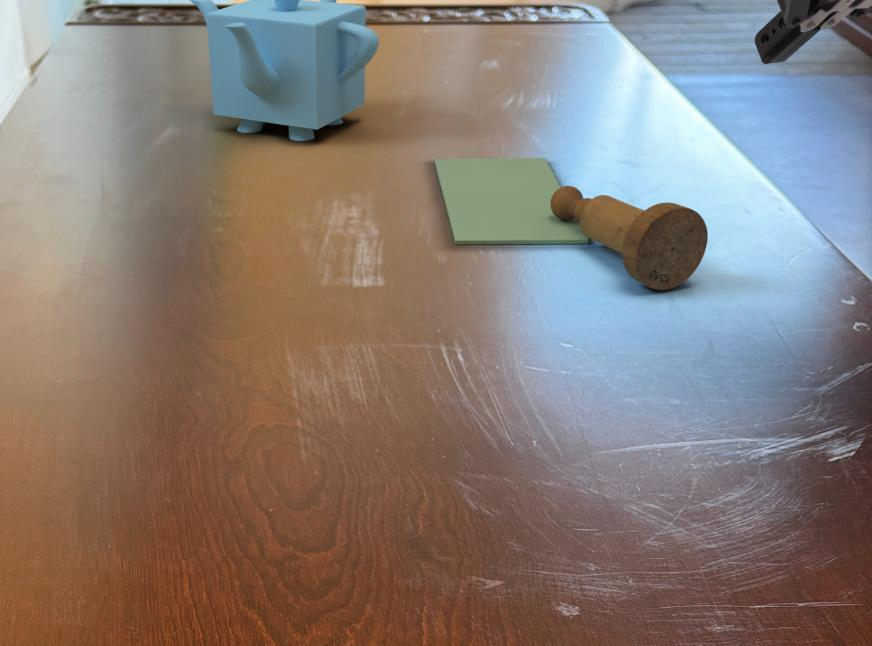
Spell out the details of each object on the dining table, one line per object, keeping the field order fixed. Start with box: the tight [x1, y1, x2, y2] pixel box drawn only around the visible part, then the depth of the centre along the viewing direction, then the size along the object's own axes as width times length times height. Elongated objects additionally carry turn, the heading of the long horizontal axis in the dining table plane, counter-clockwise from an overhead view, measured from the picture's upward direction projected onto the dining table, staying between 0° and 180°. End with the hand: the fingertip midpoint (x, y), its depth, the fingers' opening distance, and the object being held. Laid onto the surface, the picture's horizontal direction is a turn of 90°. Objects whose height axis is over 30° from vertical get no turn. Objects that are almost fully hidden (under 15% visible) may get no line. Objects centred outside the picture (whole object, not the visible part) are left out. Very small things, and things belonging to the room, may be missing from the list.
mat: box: [433, 157, 590, 246], centre depth 103 cm, size 12×24×1 cm, turn 0°
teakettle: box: [189, 0, 380, 142], centre depth 120 cm, size 19×19×15 cm
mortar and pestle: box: [550, 185, 709, 291], centre depth 90 cm, size 7×6×18 cm
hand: (766, 51), depth 69 cm, fingers closed
